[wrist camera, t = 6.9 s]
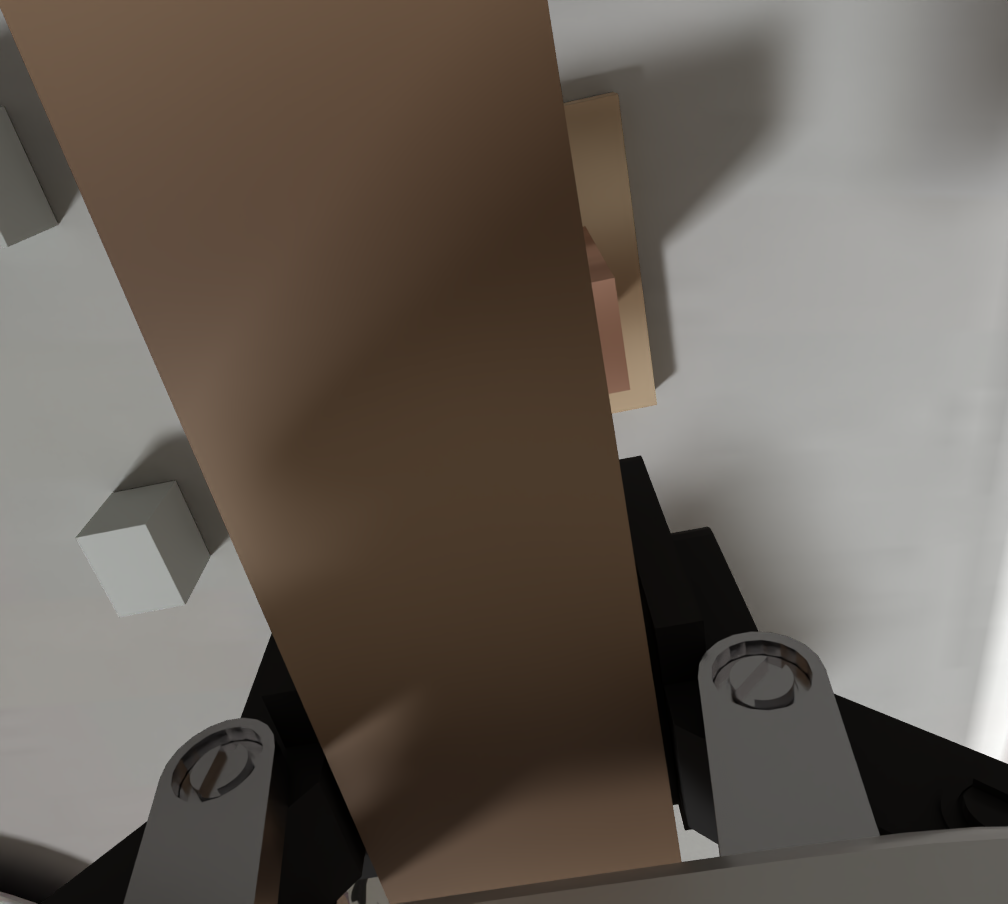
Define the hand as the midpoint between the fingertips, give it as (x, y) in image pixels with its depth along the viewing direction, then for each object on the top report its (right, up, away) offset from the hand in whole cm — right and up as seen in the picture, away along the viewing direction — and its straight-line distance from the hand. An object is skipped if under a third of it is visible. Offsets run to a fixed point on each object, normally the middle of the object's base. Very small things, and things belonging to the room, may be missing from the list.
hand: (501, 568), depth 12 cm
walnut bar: (0, 0, -1) cm, 1 cm away
